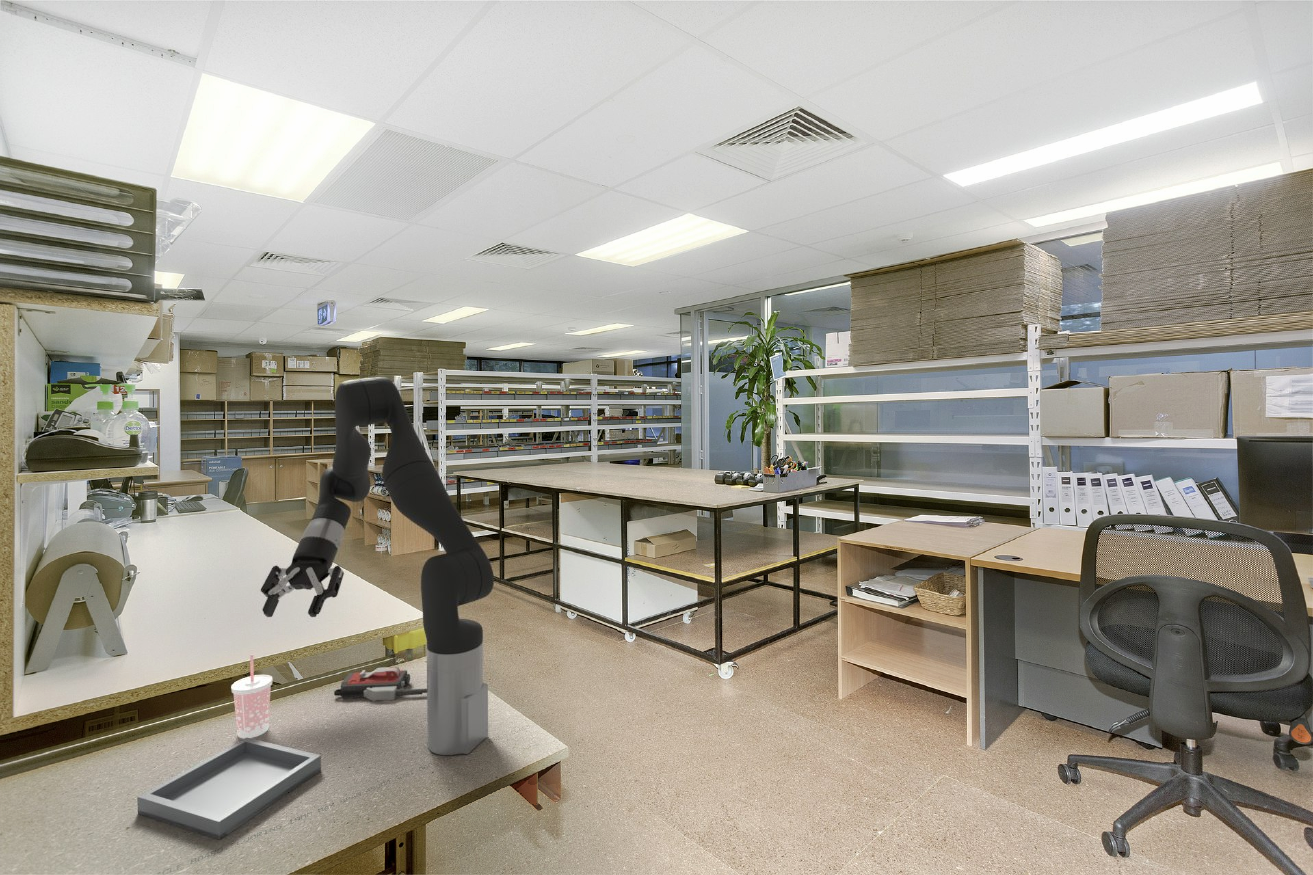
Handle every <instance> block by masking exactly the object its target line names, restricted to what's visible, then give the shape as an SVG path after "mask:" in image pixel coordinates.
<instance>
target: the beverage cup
mask: <svg viewBox="0 0 1313 875" xmlns="http://www.w3.org/2000/svg"><path fill="white" fill-rule="evenodd" d="M249 663H250V665H249V666H250V668H249V669H250V676H246V677H244V678H240V679H238V680H237V681H234V683H233V684H231V685H230V686H231V687H230V689H231V693H232V694H233V701H234V713H235V721H236V731H237V732H236V734H237V737H238V738H239V739H245V738H246V737H247V738H251V739H253V738H256V737H258V736H261V735H263V734H265V733H266V732H267V731H268V730H269V728H270V727H269V725H270V711H271V710H270V709H271V705H270V704H271V690H272V689H271V686H272V685H273V681H274V680H273V676H272V675H269V674H254V672H255V671H254V669H255V666H254V654H253V653H251V654H249Z"/></svg>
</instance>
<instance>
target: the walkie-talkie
mask: <svg viewBox="0 0 1313 875" xmlns="http://www.w3.org/2000/svg"><path fill="white" fill-rule="evenodd" d="M410 681H411V675H410V673H408V670H407V669H405V670H403V669H401V670H400V668H399V667H397V666H390V667H387V666H385V667H383V666H382V667H377V668H376V669H374V670H373V671H366V670H365V669H362V671H361V672H348V674H347V675H346V676H345V678H344V679H343V680H342V682H341V683H340V688H339V689H335V690H334V692H333V693H334V694H333V695H334V696H337V697H340V698H342V699H350V698H355V699H356V698H366V699H368V700H370V701H377V700H378V701H395V700H396V698H397V697H403V696H415V695H416V696H418V695H423V694H427V688H413V689H410V688H409V689H404V688H405V686H406V685H409V684H410Z"/></svg>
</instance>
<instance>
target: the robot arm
mask: <svg viewBox="0 0 1313 875" xmlns="http://www.w3.org/2000/svg"><path fill="white" fill-rule="evenodd" d="M334 419H335V421H334V422H335V423H334V424H335V440H336V441H335V442H336V443H335V451H334V455H333V461H332V466H330V467H327V468H326V469H324V471H323V472H322V474H321V477H320V480H319V493H318V494H319V496H318V501H317V505H316V507H315V510H314V513H313V515H312V516H311V520H310V521H309V524H308V525H307V527H306V528H305V530H304V532H303V534H302V536H301V538H300V540H299V543H298V545H297V547H296V549H295V551H294V554H293V556H292V560H291V563H290V565H289V566H288V567H286V568H282V567H280V566H279V565H274V566H272V568H271V569H270V571H269V573H268V575H267V577H266V578H265V580H264V582H263V584H262V586H261V588H260V592H261V593H262V594H263V596H264V597H266V601H265V603H264V605H263V606H262V612H263V614H264V615H265V617H266V618H272V617H273V616H274V613H275V610H276V608H277V606H278V604H279V602H280V599H281V598H282V597H283V596H285V595H287V594H289V593H291V592H293V591H294V590H298V591H299V590H312V589H314V591H315V593H316V595H314V596H313V599H312V600H311V604H310V605H309V608H308V610H307V611H308V612H307V614H308V615H309V617H310V618H316V617H317V615H319V614H320V613H321V611H322V608H323V606H324V603H325V601H326V600H327V599H329V598H333V599H334V598H336V597H338V595H339V591H340V587H341V586H342V581H343V578H344V575H345V573H344V570H343V569H342V568H341V566H340V565H335V566H334V567H332V565H333V563H334V561H335V559H336V556H337V554H338V552H339V548H340V547H341V543H342V541H343V537H344V532H345V529H346V527H347V525H348V522H349V519H350V518H351V515H352V514H351V513H352V511H351V510H352V509H351V507H350V506H349V505H348V504H347V503H345V502H343V501H341V500H344V501H348V502H352V503H359V502H361V501H363V500H365V499H366V498H367V497H368V495H369V493H370V491H371V477H370V473H369V470H368V467H369V464H370V461H371V460H370V459H371V455H372V450H371V449H372V448H371V445H370V443H369V441H368V440H367V438H366V437H365V436H364V435H363V434H362V433H361V432H359V430H357V428H356V427H363V426H368V425H369V426H370V425H376V424H377V425H378V424H381V423H385V424H387V425H388V427H389V429H390V433H391V435H390V436H391V437H390V442H389V445H388V449H387V453H386V455H385V457H384V461H383V465H382V470H381V471H382V472H381V478H382V481H383V484H384V486H385V489H386V491H387V493H388V494H389V497H390V499H391V501H392V504H393V505H394V506H395V508H396V509H397V510H398V512H400V513H401V514H402V515H403V516H404V517H405V518H407V519H408V520H409V521H411V522H412V523H413V524H414V525H417V526H418V527H419V528H420V529H423V530H424V531H426V532H427V533H429V535H431V536H432V537H433V538H434V539H435V540H436V541H437V542H438V543H439V544H440V546H441V547H442V548H443V550H444V552H445V553H442V554H437V555H434V556H431V557H429V558H428V559H427V560H426V561H425V562H424V563H423V566H422V571H421V576H420V592H421V606H422V607H421V608H422V624H423V629H424V630H423V631H424V634H425V638H426V689H427V693H426V711H427V712H426V719H427V720H426V721H427V723H426V724H427V725H426V726H427V729H426V730H427V748H428V749H429V751H430V752H432V753H433V754H436V755H441V756H453V755H460V754H464V755H468V754H470V753H471V752H472V751H473V750H474V749H475V748H476V747H478V746H479V745H480V744H481V743H482V742H483V741H484V740H485V739H486V738H488V736H489V686H488V683H485V682H484V630H483V627H482V624H481V623H480V622H478V621H475V620H472V619H468V618H467V619H466V618H460V617H459V616H460V615H459V610H458V609H459V608H458V607H461V606H463V605H467V604H470V603H474V602H476V601H479V600H482V599H484V598H486V597H487V596H489V595H490V594H491V593H492V591H493V589H494V585H495V576H494V571H493V567H492V564H491V562H490V559H489V557H488V556H487V554H486V552H485V551H484V549H483V548H482V546H481V545H480V543H479V542H478V540H477V539H476V537H475V536H474V535H473V533H472V531H471V530H470V529H469V527H468V524H466V522H465V521H464V519H463V518H462V516H461V515H460V512H459V511H458V509H457V507H456V505H455V504H454V502H453V500H452V499H451V496H450V494H449V493H448V490H447V489H446V488H445V485H444V483H443V480H442V478H441V477H440V474H439V473H438V471H437V469H436V466H435V465H434V463H433V461H432V460H431V458H430V456H429V455H428V453H427V452H426V450H425V447H424V446H423V444H422V442H421V440H420V437H419V436H418V434H417V432H416V429H415V428H414V426H413V423H412V420H411V418H410V416H409V413H408V411H407V409H406V405H405V404H404V401H403V398H402V396H401V394H400V391H399V389H398V388H397V386H396V384H395V383H394V381H392V379H391V378H388V377H385V376H377V377H376V376H375V377H366V378H356V379H349V380H345V381H342V382H341V383H339V384H338V385H337V388H336V391H335V397H334ZM339 499H340V500H339ZM331 567H332V568H331ZM328 577H329V578H330V579H329V582H328V585H327V588H326V589H325V587H324V585H323V581H324V580H326V579H327V578H328ZM288 583H289V585H287V584H288Z"/></svg>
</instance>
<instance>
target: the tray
mask: <svg viewBox="0 0 1313 875" xmlns="http://www.w3.org/2000/svg"><path fill="white" fill-rule="evenodd" d="M321 771H322V755H321V754H319V753H312V752H310V751H305V750H300V749H297V748H292V747H288V746H284V745H280V744H276V743H271V742H268V741H263V740H258V739H255V738H247V737H246V738H245V739H244V738H242V739H241V740H239V741H237V742H235V743H234V744H231V745H230V746H228V747H226V748H225V749H222V750H220V751H219V752H217V753H215V754H213V755H211V756H210V757H208V758H205V759H204V760H203V761H201V762H199V763H197V764H195V765H193V766H192V767H190V768H188V769H186V770H184V771H182V772H180V773H179V774H176V775H175V776H173V777H171V778H169V779H168V780H165V781H163V782H162V783H159V784H158V785H156V786H155V787H153V788H151V789H150V790H147V791H145V792H144V793H141V794H139V795H138V796H137V799H136V800H137V801H136V802H137V814H138V815H140V816H144V817H147V818H150V819H153V820H156V821H158V822H159V821H160V822H161V823H166V824H169V825H172V826H175V827H178V828H181V829H184V830H188V831H190V832H193V833H197V834H200V835H203V836H206V837H210V838H212V839H215V840H218V841H220V840H222V839H223V838H225V837H226V836H228V835H229V834H230V833H232V832H234V831H235V830H236V829H238V828H239V827H240V826H242V825H244V824H246V823H247V822H248V821H249V820H251V819H252V818H254V817H255V816H257V815H258V814H260V813H261V812H263V811H264V810H266V808H269V807H270V806H271V805H273V804H274V803H275V802H277V801H279V800H280V799H282V798H283V797H285V796H286V795H287V794H289V793H291V792H292V791H293V790H295V789H297V788H298V787H299V786H301V785H302V784H303V782H304V783H305V782H307V781H308V780H309V779H311V778H312V777H313V776H316V774H318V773H320V772H321ZM300 784H301V785H300ZM297 786H298V787H297ZM294 788H295V789H294ZM291 790H292V791H291ZM288 792H289V793H288Z"/></svg>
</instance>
